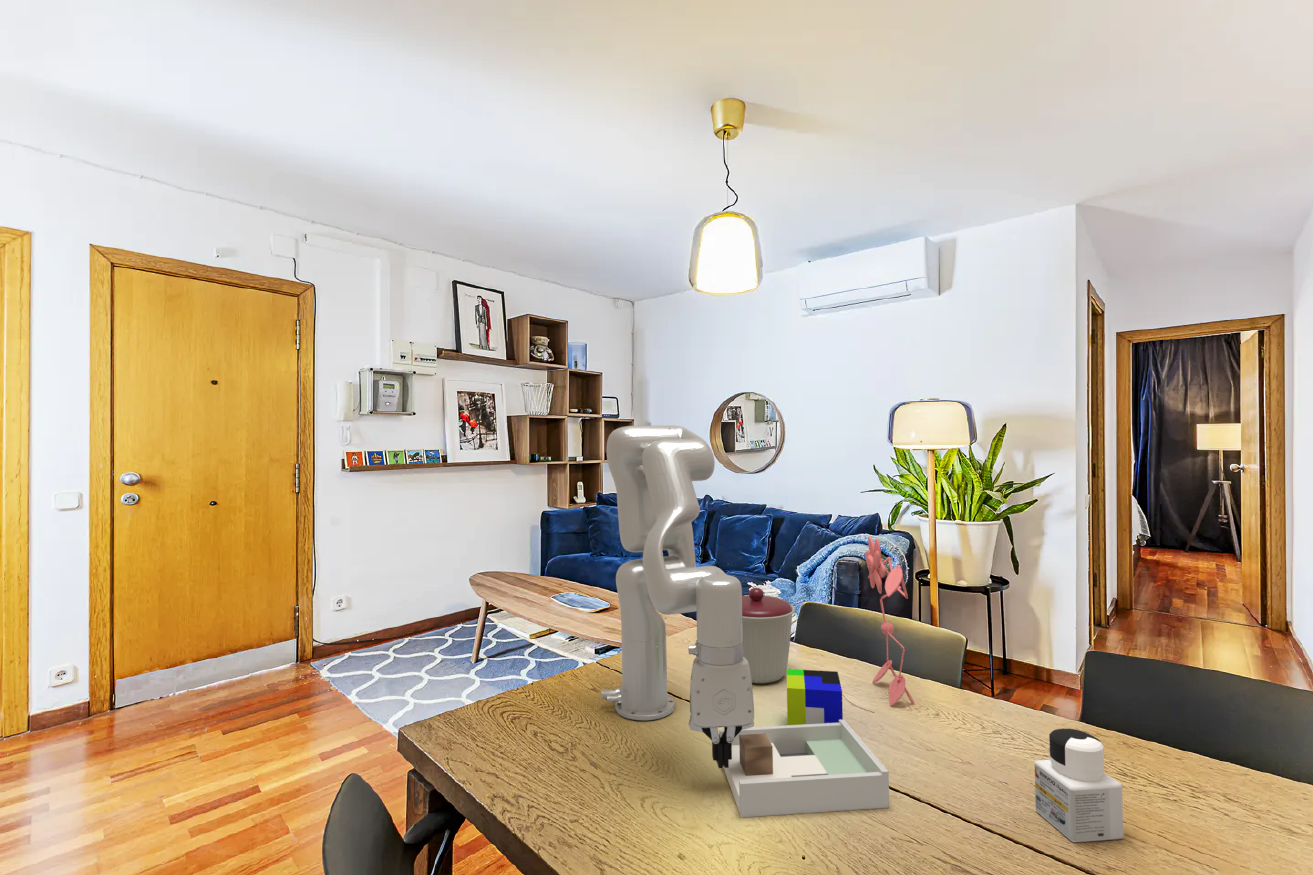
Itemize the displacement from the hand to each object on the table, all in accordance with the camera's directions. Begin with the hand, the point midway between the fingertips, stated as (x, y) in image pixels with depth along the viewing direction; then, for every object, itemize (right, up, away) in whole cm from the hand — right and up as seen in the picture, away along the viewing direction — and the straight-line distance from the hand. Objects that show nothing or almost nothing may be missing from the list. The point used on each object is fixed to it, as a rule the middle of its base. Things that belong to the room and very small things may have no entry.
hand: (722, 763), depth 103 cm
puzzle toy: (+20, -4, +19) cm, 27 cm away
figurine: (+38, -3, +35) cm, 52 cm away
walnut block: (+6, -1, +1) cm, 6 cm away
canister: (+14, -4, +47) cm, 49 cm away
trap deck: (+13, -3, +1) cm, 13 cm away
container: (+50, -3, -12) cm, 52 cm away
